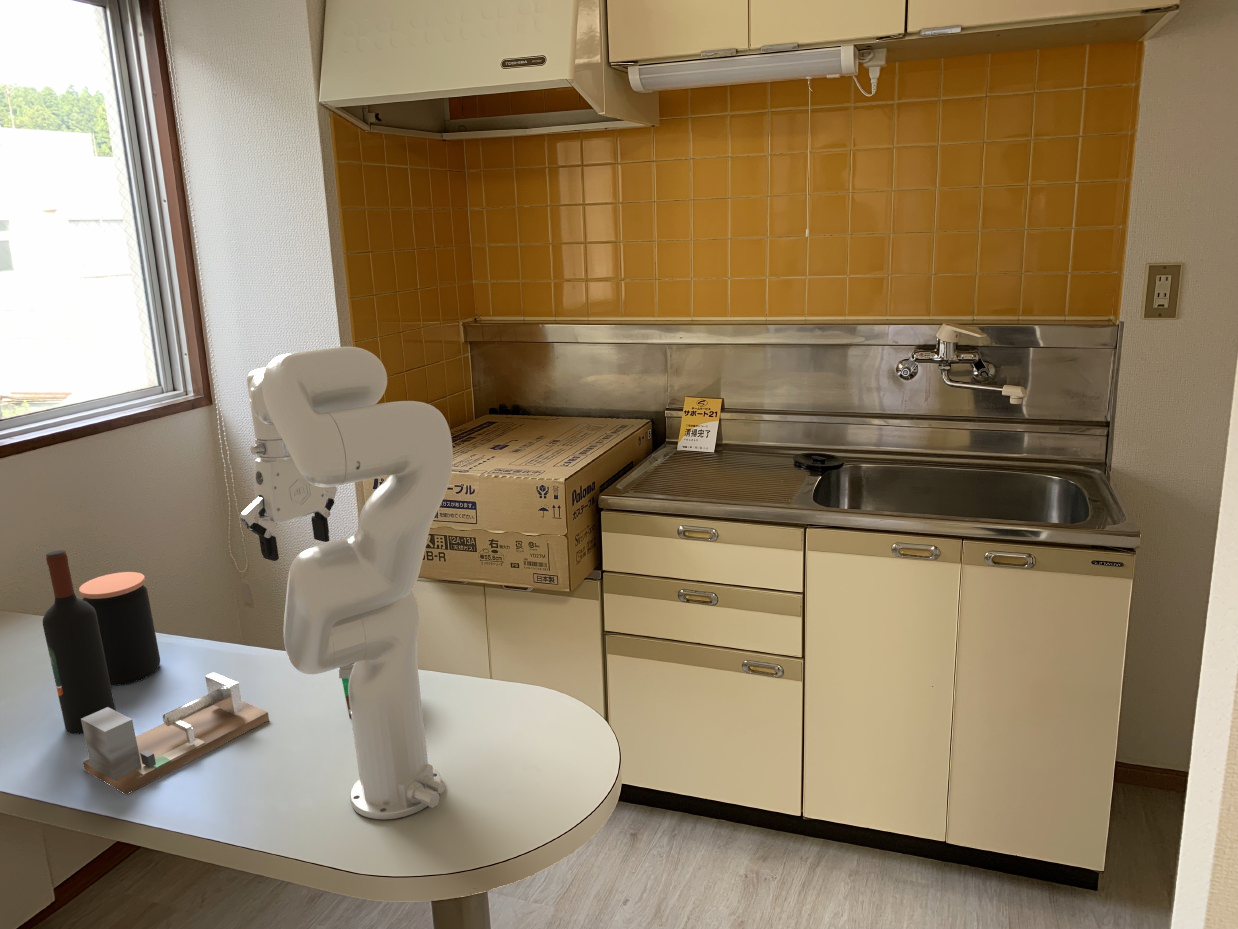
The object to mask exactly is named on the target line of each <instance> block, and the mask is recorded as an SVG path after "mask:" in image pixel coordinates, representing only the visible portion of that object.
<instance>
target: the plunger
mask: <svg viewBox="0 0 1238 929" xmlns="http://www.w3.org/2000/svg"><path fill="white" fill-rule="evenodd" d="M204 678H205V683H206V687H207V694H205V695H202V696H201V697H199V698H196V699H193V700H192V701H190V702H188V703H186V704H183V705H181V706H178V707H177V708H174V709H172V710H171V711H168V712H166V713H164V714H162V721H163V723H165V724H166V725H167V726H171V725H173V726H175V727H177V728H179V729H181V730H183V731H185V732H186V738H187V742H188V743H192V742H194V741H195V738H194V733H193V728H192V727H191V725H189V724H187V723H185V722H183V721H181V720H183V719H185V718H187V717H189V716H191V715H193V714H196V713H198V712H200V711H202V710H204V709H206V708H208V707H210V706H212V705H215V706H217V707H219V708H222V709H224V710H226V711H228V712H231V713H233V714H236V713H238V712H240V711H242V710H243V708H242V702H241V701H242V697H241V696H242V695H241V691H240V684H239V682H238V681H236V680H233V679H231V678H228V677H226V676H224V675H221V674H219V673H216V672H211V673H209V674H206V675H205V676H204Z"/></svg>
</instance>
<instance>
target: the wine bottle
mask: <svg viewBox="0 0 1238 929" xmlns="http://www.w3.org/2000/svg"><path fill="white" fill-rule="evenodd" d="M45 557H46V558H45V560H46V564H47V567H48V571H49V575H50V580H51V585H52V588H53V589H52V590H53V593H54V594H53V595H54V603H53V604H52V605H51V606H50V607H49V608H48V609H47V610H46V611H45V613H44V616H43V617H42V628H43V633H44V636H45V641H46V646H47V650H48V655H49V659H50V660H49V661H50V664H51V667H52V673H53V677H54V683H55V687H56V692H57V697H58V700H59V705H60V710H61V714H62V719H63V723H64V727H65V731H66V732H67V733H69V734H72V735H84V732H83V727H82V722H81V719H82V718H84V717H86V716H88V715H91V714H93V713H95V712H98V711H100V710H102V709H104V708H107V707H109V708H111V709H113V710H115V711H116V710H117V709H116V705H115V700H114V695H113V691H112V685H111V684H110V679H109V674H108V670H107V665H106V660H105V655H104V650H103V645H102V640H101V635H100V630H99V625H98V620H97V615H96V611H95V609H94V607H92V606H91V605H90V604H89V603H88V602H86V601H83V600H82V599H80V598H78V597H77V595H76V592H75V590H74V584H73V580H72V574H71V571H70V570H71V569H70V565H69V557H68V554H67V552H66V550H64V549H62V550H61V549H60V550H59V549H58V550H54V551H50V552H48V553H46V555H45Z"/></svg>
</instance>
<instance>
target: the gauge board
mask: <svg viewBox="0 0 1238 929" xmlns="http://www.w3.org/2000/svg"><path fill="white" fill-rule="evenodd" d="M241 702H242V708H243V710H242V711H240V712H238V713H236V714H233V713H231V712H228V711H226V710H224V709H222V708H219V707H217V706H215V705H212V706H210V707H208V708H206V709H204V710H202V711H200V712H198V713H196V714H193V715H191V716H189V717H187V718H185V719H183V720H181V721H183V722H185V723H187V724H189V725H191V727H192V728H193V733H194V738H195V741H194V742H192V743H188V742H187V738H186V732H185V731H183V730H181V729H179V728H177V727H175V726H173V725H171V726H167V725H166V724H165V723H164V722H163V723H161V724H159V725H156V726H154V727H153V728H151V729H149V730H146V731H144V732H142V733H141V734H138V735H136V732H135V727H134V722H133V721H134V720H133V719H132V718H130V717H129V716H126V715H124V714H122V713H120V712H119V711H115V710H113V709H111V708H109V707H107V708H104V709H102V710H100V711H98V712H95V713H93V714H91V715H88V716H86V717H84V718H82V719H81V722H82V727H83V732H84V734H83V736H84V741H85V745H86V749H87V755H88V759H86V760H84V761H82V764H83V770H84V772H87V773H88V774H90V775H92V776H93V777H95V778H96V777H97V778H96V779H98V780H100V779H101V780H100V781H102V782H103V781H105V782H106V783H105V782H104V783H105V784H107V783H108V784H110V785H111V786H110V785H109V786H110V787H112V786H113V787H115V788H116V789H115V788H114V789H115V790H117V789H118V790H119V792H120V791H121V792H120V793H122V792H123V793H124V795H125V794H127V795H128V793H129V792H131V791H133V792H134V790H135V791H136V790H138V789H140V788H143V787H144V786H146V785H148V784H150V783H152V782H154V781H156V780H158V779H159V777H160V778H161V777H163V776H165V775H167V774H169V773H171V772H173V771H175V770H177V769H179V768H181V767H182V766H184V765H187V764H188V763H190V762H192V761H194V760H196V759H198V758H200V757H202V756H204V755H205V753H206V754H207V753H209V752H211V751H213V750H215V749H217V748H219V747H220V745H221V746H223V745H225V744H227V743H228V742H227V741H229V740H231V741H232V740H234V739H236V738H238V737H240V736H242V735H244V734H245V733H244V732H246V733H247V731H248V732H250V731H251V730H250V729H252V730H254V729H255V728H257V727H259V726H261V725H263V724H265V723H267V722H268V721H270V718H269V712H268V711H266V710H264V709H262V708H259V707H257V706H254V705H252V704H250V703H247V702H245V701H243V700H241ZM264 722H265V723H264ZM253 728H254V729H253ZM249 730H250V731H249ZM243 733H244V734H243ZM241 734H242V735H241ZM239 735H240V736H239ZM237 736H238V737H237ZM235 737H236V738H235ZM233 738H234V739H233ZM226 742H227V743H226ZM229 742H230V741H229ZM224 743H225V744H224ZM222 744H223V745H222ZM145 750H148V751H150V752H152V753H154V756H155V762H156V765H154V766H152V767H150V768H149V767H147V766H146V765H144V764H142V759H141V754H140V753H141V752H143V751H145ZM203 754H204V755H203ZM199 756H200V757H199ZM180 766H181V767H180ZM155 779H156V780H155ZM153 780H154V781H153ZM147 783H148V784H147ZM108 784H107V785H108ZM113 787H112V788H113ZM118 790H117V791H118ZM123 793H122V794H123ZM131 793H132V792H131ZM129 794H130V793H129Z"/></svg>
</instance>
